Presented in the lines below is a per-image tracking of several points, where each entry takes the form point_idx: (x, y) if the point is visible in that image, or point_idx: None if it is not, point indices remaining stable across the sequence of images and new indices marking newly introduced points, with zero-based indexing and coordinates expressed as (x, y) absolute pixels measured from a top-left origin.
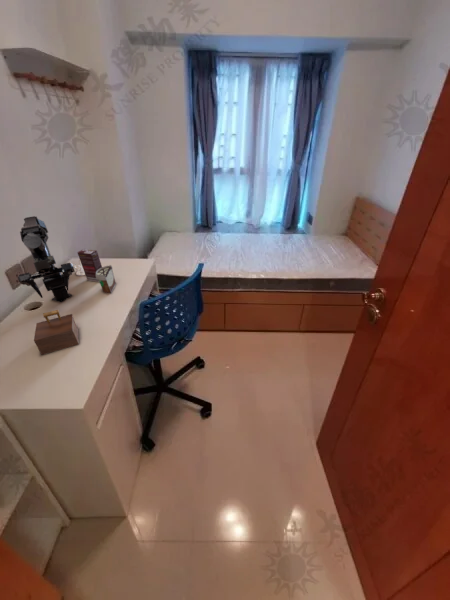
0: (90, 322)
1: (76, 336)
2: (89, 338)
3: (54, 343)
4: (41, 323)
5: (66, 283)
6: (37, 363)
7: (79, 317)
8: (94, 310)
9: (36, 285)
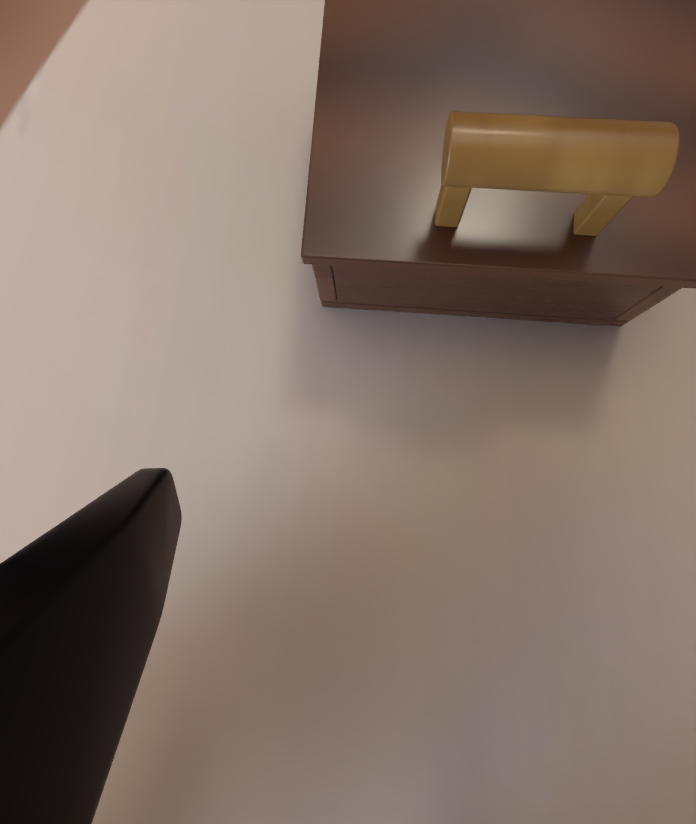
0: (203, 346)
1: None
2: (252, 112)
3: None
4: (670, 237)
5: (26, 569)
6: None
7: (285, 501)
8: None
9: None
